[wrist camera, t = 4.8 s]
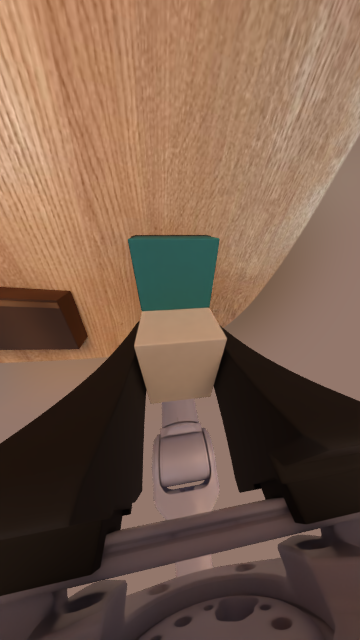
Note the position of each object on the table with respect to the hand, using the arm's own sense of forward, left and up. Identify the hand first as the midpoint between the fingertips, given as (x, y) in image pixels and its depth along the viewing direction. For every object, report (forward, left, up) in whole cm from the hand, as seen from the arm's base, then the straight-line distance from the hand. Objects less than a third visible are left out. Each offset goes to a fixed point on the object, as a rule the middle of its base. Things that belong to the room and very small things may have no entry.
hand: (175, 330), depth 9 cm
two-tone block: (+2, 0, -1) cm, 2 cm away
